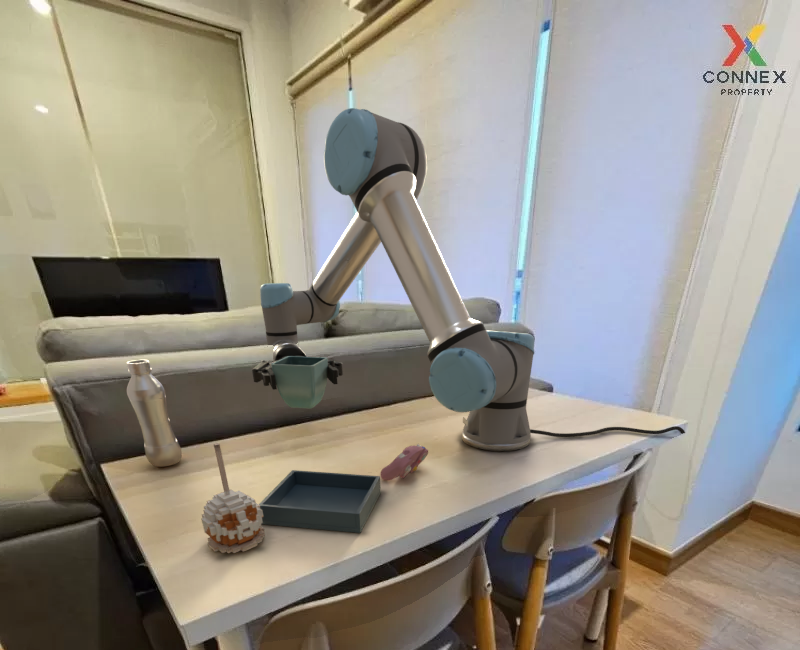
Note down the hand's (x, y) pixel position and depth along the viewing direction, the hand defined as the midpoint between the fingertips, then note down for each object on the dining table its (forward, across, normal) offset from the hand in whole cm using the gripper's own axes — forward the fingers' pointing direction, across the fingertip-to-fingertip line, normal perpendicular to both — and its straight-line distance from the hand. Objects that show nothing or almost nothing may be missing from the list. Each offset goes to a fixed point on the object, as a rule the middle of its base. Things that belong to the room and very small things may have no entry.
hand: (305, 379), depth 90 cm
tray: (+24, +3, -16) cm, 29 cm away
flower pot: (-4, 0, -6) cm, 7 cm away
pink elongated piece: (+16, -15, -16) cm, 27 cm away
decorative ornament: (+31, +17, -16) cm, 39 cm away
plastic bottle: (-6, +29, -16) cm, 34 cm away
